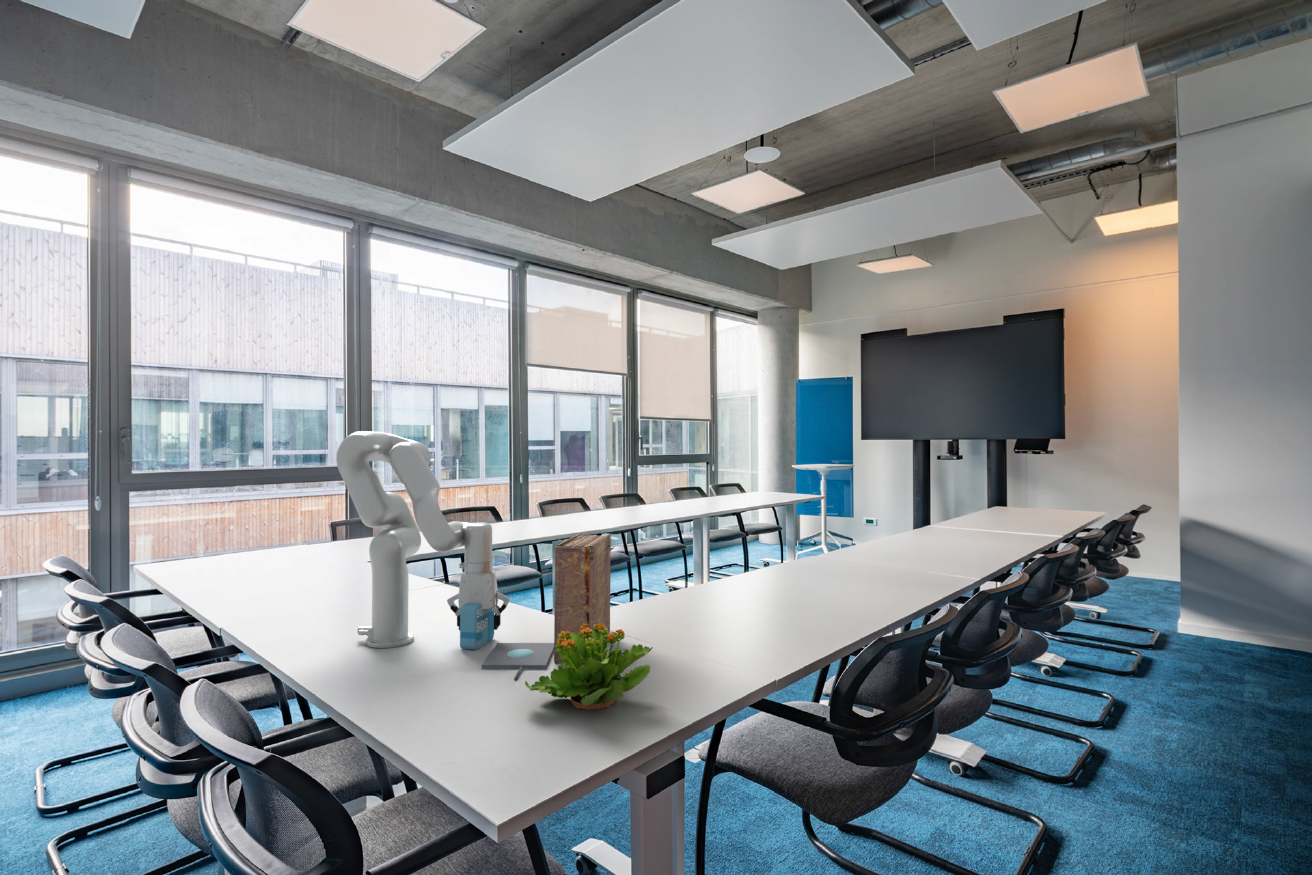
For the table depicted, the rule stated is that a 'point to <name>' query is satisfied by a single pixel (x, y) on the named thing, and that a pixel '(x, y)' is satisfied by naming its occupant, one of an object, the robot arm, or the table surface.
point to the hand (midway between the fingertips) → (478, 628)
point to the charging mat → (519, 656)
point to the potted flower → (593, 668)
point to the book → (582, 584)
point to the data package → (475, 626)
